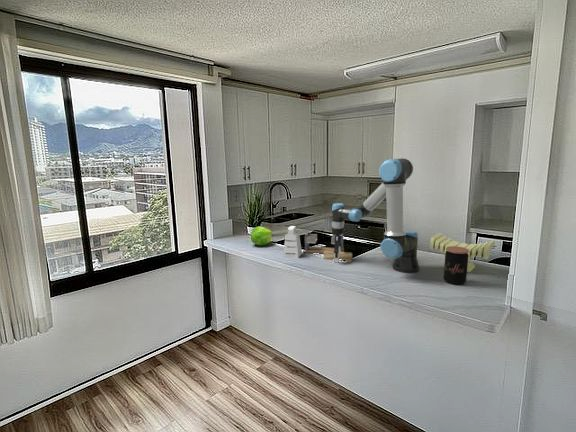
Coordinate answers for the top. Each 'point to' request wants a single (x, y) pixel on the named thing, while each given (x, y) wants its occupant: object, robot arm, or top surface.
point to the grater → (292, 243)
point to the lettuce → (261, 236)
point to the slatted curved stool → (474, 249)
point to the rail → (342, 255)
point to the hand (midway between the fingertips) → (337, 259)
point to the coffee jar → (456, 265)
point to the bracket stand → (310, 250)
